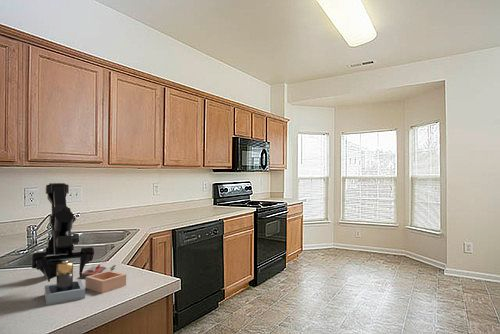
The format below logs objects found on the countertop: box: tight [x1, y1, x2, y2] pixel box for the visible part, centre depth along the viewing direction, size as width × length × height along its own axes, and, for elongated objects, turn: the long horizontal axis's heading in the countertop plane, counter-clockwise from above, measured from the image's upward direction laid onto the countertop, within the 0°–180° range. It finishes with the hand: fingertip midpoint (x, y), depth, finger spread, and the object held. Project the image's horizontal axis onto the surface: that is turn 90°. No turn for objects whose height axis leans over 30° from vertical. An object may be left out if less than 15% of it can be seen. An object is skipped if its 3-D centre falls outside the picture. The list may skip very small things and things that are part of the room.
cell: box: [55, 260, 74, 292], centre depth 113 cm, size 5×5×12 cm
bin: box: [84, 270, 127, 294], centre depth 123 cm, size 10×10×5 cm
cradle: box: [43, 279, 86, 306], centre depth 113 cm, size 11×11×4 cm
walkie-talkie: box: [79, 264, 117, 279], centre depth 141 cm, size 9×4×20 cm
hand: (65, 278), depth 112 cm, fingers open, 9 cm apart
